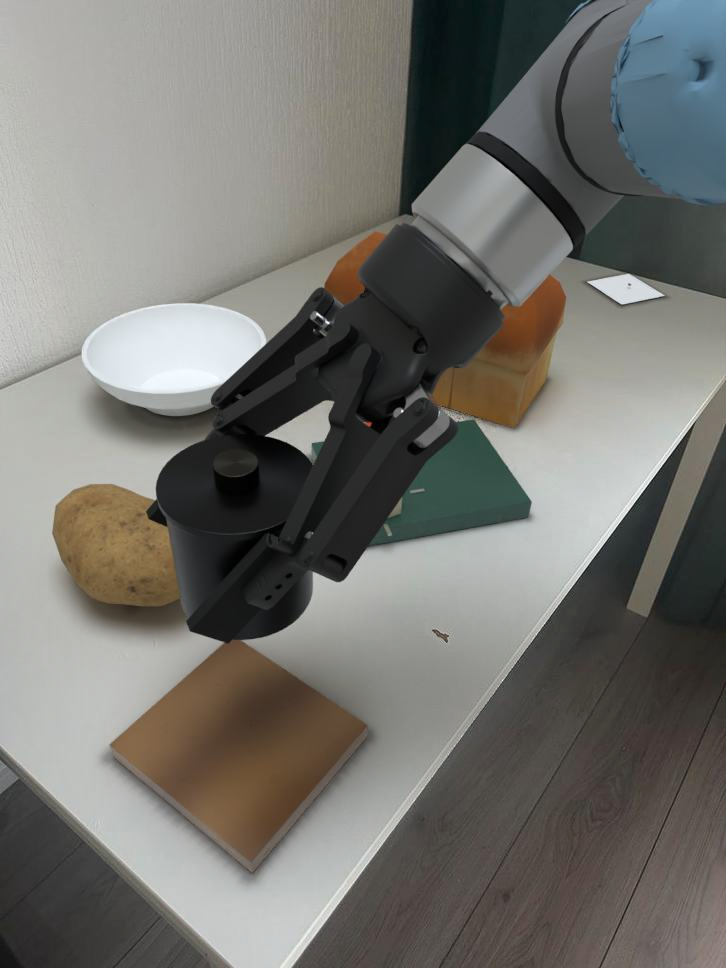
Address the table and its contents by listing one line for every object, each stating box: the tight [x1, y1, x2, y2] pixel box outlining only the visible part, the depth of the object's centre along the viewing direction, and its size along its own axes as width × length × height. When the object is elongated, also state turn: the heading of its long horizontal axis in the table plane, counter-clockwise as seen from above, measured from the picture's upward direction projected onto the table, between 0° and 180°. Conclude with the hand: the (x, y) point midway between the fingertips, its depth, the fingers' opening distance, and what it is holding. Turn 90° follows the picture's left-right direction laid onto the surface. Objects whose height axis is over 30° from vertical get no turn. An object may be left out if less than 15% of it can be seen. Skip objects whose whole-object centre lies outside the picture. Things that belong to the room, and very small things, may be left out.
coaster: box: [587, 273, 665, 305], centre depth 114 cm, size 8×8×1 cm
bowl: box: [81, 302, 267, 417], centre depth 86 cm, size 20×20×7 cm
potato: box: [51, 483, 180, 607], centre depth 63 cm, size 10×14×8 cm
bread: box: [323, 230, 567, 429], centre depth 89 cm, size 25×12×15 cm, turn 63°
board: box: [109, 640, 369, 874], centre depth 54 cm, size 13×12×2 cm
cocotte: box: [155, 434, 314, 641], centre depth 44 cm, size 9×9×10 cm
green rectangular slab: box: [310, 419, 533, 547], centre depth 76 cm, size 15×20×2 cm
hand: (185, 573), depth 44 cm, fingers closed on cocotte, 9 cm apart
